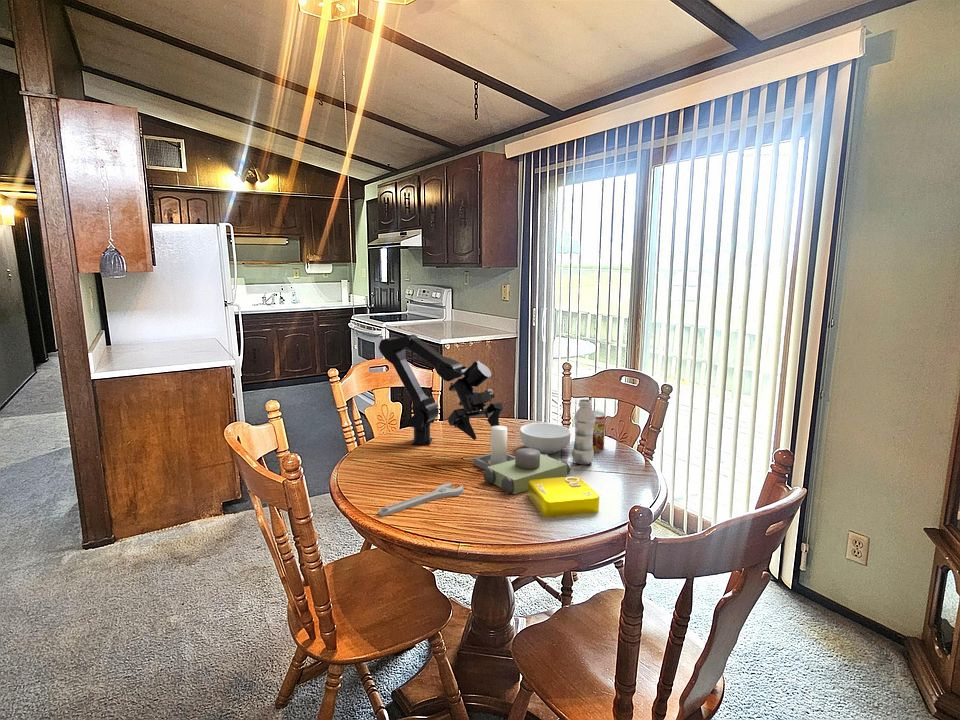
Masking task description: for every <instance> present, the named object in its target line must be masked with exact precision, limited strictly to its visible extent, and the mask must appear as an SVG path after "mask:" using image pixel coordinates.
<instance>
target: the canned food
mask: <svg viewBox="0 0 960 720" xmlns="http://www.w3.org/2000/svg"><path fill="white" fill-rule="evenodd" d="M592 411H593V412H594V414H595V417H596V419H595V425H594V430H593V451H594V453H598V452H602V451H604V450H605V449H604V448H605V432H606V431H605V429H606V413H605V412H603V411H599V410H592Z"/></svg>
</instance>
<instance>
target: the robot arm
mask: <svg viewBox="0 0 960 720" xmlns="http://www.w3.org/2000/svg"><path fill="white" fill-rule="evenodd" d="M406 348H408V349H409V350H410V351H411V352H413V353H415V354H416V355H418V357H420V358H421V359H423V360H424V361H425V362H427V363H428V364H430V365H431V366H432V367H433V368H434V370H435V372H436V374H437V375H438V376H439V377H440V378H441V379H442V380H443V381H445V382H450V386H449V387H448V392H455V393H456V395H457V397H458V399H459V403H458V405H459V407H462V408H457V409H453V411H452V412H451V413H450V415H449V416H448V418H447V422H448V424H449V426H450V427H454V428H455V429H456V428H457V429H458V430H460V431H462V432H463V433H465V434H466V435H467V436H469V437H470V438H471V439H472V440H474V441H475V440H477V436H476V433H475V431H474V428H473V427H472V424H471V422H470V418H475V417H480V416H485V417H486V418H487V420H486V421H487V422H488V424H489V425H490V426H491V427H492V426H500V420H499V419H500V418H499V417H500V415H501V414H502V411H504V409H505V407H504V405H503V403H502V402H501V401H496V402H492V399H494V398H495V392H494V390H493V389H492V388H487V389H485V390H484V391H483V392H482V391H481V392H479V391H476V390H475V388H474V387H477V388H478V387H480V386H481V385H482V384H484V383H485V382H486V381H487V380H489V378H490V377H491V376H492V372H491V369H490V368H489V367H488V366H487V365H485V364H484V363H482V362H481V361H480V360H475V361H474V362H472V364H471V365H470V366H469V367H467V366H464V365H463V364H462V363H460V362H459V361H457V360H455V359H453V358H451V357H446V356H444V355H442V354H441V353H440V352H438V351H436V349H434V348H432V347H431V346H430V345H428V344H427V343H425V342H424V341H423V340H421V338H419V337H418V336H417V335H416V334H408V335H404V337H398V336H393V337H392V336H391V337H388V338H384V339H381V341H380V343H379V345H378V350H379V352H380V354H381V355H382V356H383V358H384V359H385V360H386V361H388V362H389V363H390V364H391V365H392V366H393V368H394V369H395V371H396V373H397V375H398V377H399V379H400V381H401V383H402V385H403V387H404V389H405V391H406V392H407V394H408V396H409V397H410V400H411V411H412V413H413V415H412V416H411V417H410V418H409V419H408V421H407V424H408V426H409V427H410V428H413V439H412V441H411V442H410V443H411V445H427V446H428V445H429V446H430V445H431V444H432V441H433V439H434V438H433V437H431V424H433V423H435V420H436V418H437V417H438V416H439V408H438V407H439V404H438V403H437V402H436V399H435V397H434V396H432V395H431V396H430V397H429V396H428V395H427V394H426V393H425V392H424V390H423V389H422V386H421V385H420V383H419V381H418V379H417V377H416V375H415V373H414V372H413V370H412V368H411V365H410V364H409V361H407V355H406V354H407V353H406ZM455 380H456V381H455ZM452 381H454V382H452ZM488 402H491V403H490V404H489V405H488V406H487V403H488ZM486 406H487V407H486ZM485 407H486V408H485ZM491 427H490V428H491Z"/></svg>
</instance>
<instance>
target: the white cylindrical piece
mask: <svg viewBox="0 0 960 720" xmlns="http://www.w3.org/2000/svg"><path fill="white" fill-rule="evenodd" d="M490 454H491V460H490V461H489V462H487V463H488V464H490V465H496V464H500V463H504V462H507V454H508V427H507V426H506V425H505V426H504V425H499V426H492V427H490Z"/></svg>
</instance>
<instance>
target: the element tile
mask: <svg viewBox="0 0 960 720" xmlns="http://www.w3.org/2000/svg"><path fill="white" fill-rule="evenodd" d="M527 497H528V498H529V500H530V501H531V502H532V503H533V505H534V506H535V508H536V509H537V510H538V511H539V513H540V514H541V515H542V516H543V517H546V518H556V517H557V518H559V517H567V516H577V515H586V514H587V515H588V514H595V513H598V512H599V511H600V495H599V494H598V493H597V492H596V491H595V490H594V489H593V487H591V486H590V485H589V484H588V483H586V482H585V480H583V479H582V478H581V477H580V476H576V475H573V476H572V475H571V476H567V477H558V478H546V479H534V480H530V481H529V482H528V490H527Z"/></svg>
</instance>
